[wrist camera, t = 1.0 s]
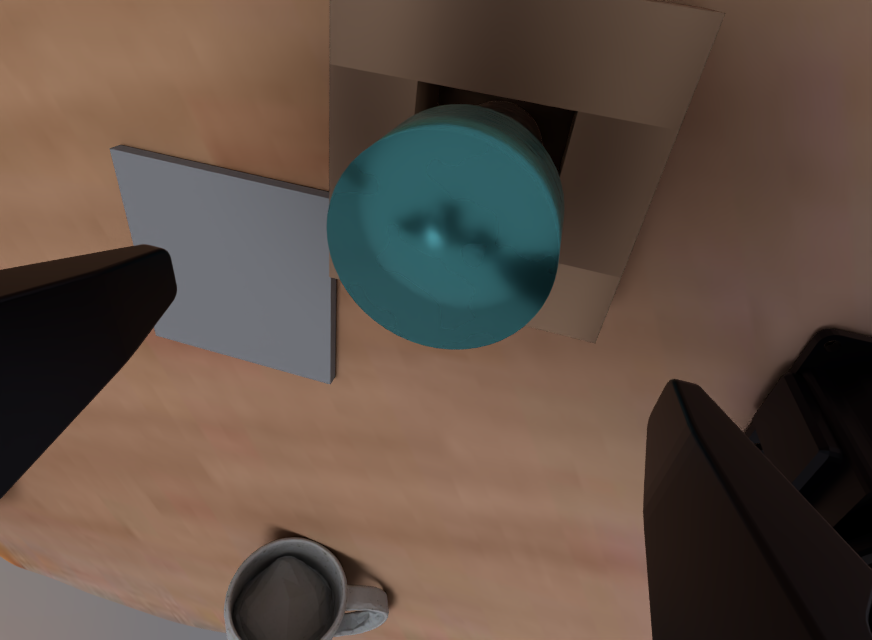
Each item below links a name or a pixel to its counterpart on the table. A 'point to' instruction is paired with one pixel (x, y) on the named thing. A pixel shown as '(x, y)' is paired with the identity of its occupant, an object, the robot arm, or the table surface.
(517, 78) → the eye block
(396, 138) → the teal topped white bottle
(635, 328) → the table surface
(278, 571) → the ceramic mug
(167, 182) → the slate mat
